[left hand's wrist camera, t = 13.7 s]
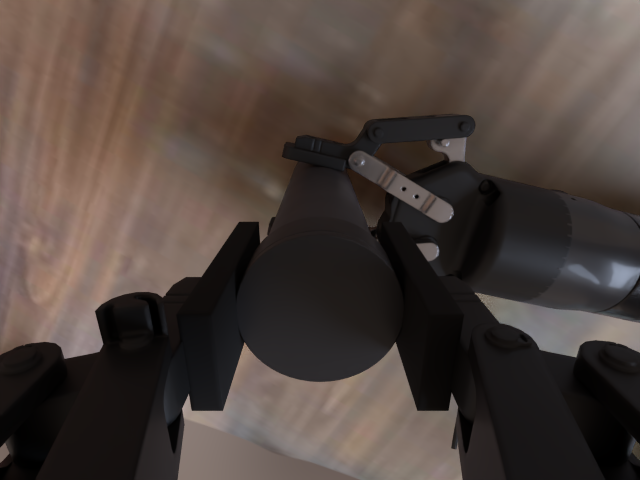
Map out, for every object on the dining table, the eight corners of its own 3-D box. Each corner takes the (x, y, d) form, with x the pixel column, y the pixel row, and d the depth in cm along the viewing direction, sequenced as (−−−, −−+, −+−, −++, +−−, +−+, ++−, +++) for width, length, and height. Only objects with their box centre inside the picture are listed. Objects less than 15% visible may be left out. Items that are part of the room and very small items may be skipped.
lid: (424, 286, 12) (440, 315, 10) (320, 370, 13) (320, 407, 11) (320, 183, 11) (320, 197, 9) (215, 286, 12) (199, 314, 10)
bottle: (310, 214, 30) (297, 380, 12) (282, 169, 28) (219, 279, 11) (357, 188, 29) (415, 323, 11) (330, 140, 27) (347, 207, 10)
